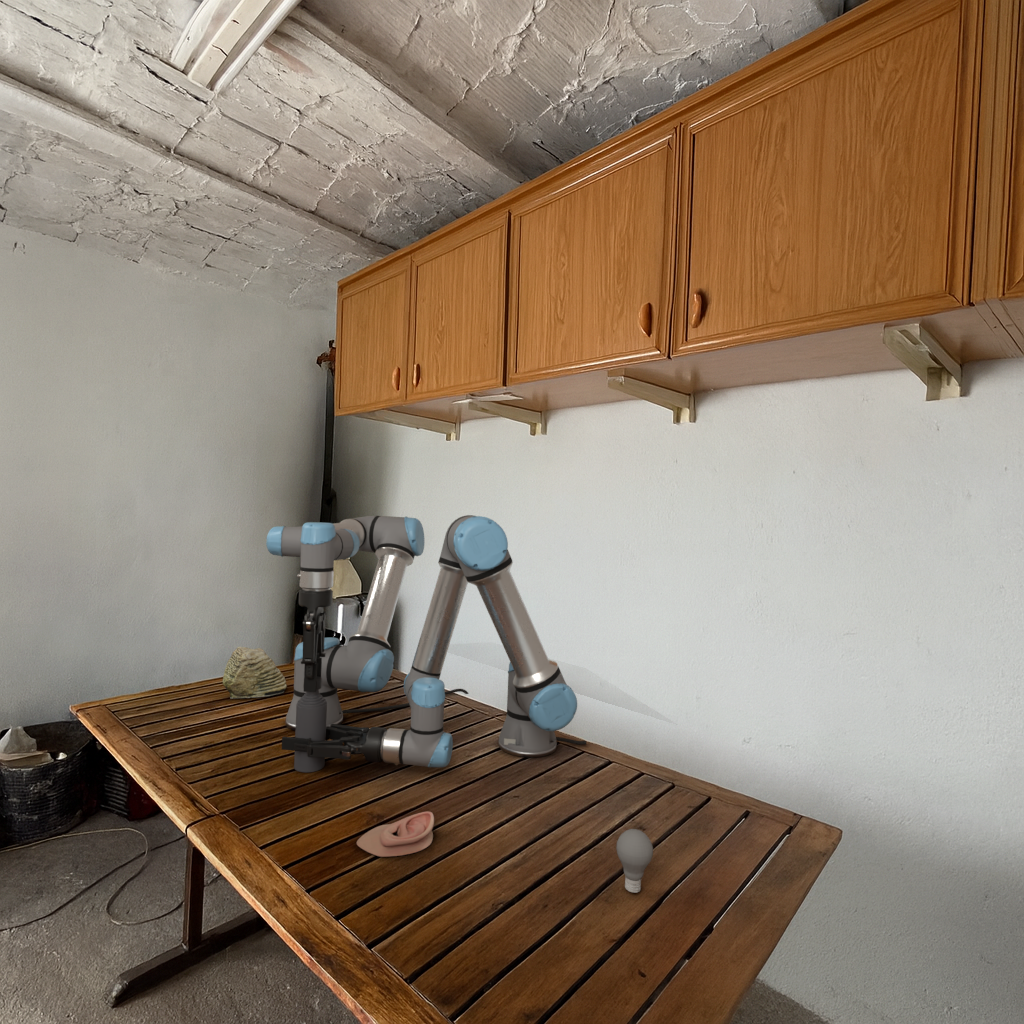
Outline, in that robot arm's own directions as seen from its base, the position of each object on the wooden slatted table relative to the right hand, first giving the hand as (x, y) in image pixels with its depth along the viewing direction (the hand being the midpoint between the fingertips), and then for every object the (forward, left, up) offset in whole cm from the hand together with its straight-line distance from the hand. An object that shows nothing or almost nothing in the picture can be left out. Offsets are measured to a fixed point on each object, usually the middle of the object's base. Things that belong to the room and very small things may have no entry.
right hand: (290, 737), depth 149 cm
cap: (-5, +2, +14) cm, 15 cm away
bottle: (-5, +2, -6) cm, 8 cm away
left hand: (-5, +2, +12) cm, 13 cm away
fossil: (+11, -56, -6) cm, 57 cm away
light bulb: (-55, +65, -6) cm, 85 cm away
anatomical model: (-19, +40, -6) cm, 45 cm away
